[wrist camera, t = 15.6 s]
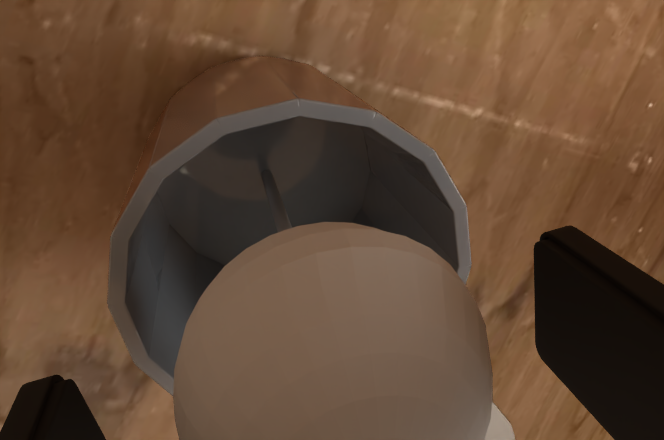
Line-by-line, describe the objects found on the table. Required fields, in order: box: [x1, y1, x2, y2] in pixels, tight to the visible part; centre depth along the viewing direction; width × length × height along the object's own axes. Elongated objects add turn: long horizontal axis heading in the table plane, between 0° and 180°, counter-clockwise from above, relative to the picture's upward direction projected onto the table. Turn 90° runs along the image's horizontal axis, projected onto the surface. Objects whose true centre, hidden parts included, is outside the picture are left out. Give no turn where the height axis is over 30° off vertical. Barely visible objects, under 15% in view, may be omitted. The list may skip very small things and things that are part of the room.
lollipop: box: [173, 170, 492, 440], centre depth 14 cm, size 6×6×15 cm
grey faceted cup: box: [107, 56, 472, 396], centre depth 17 cm, size 9×9×9 cm
